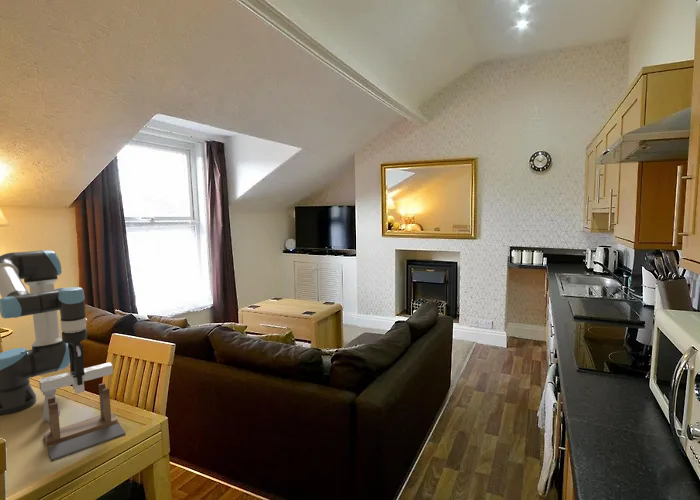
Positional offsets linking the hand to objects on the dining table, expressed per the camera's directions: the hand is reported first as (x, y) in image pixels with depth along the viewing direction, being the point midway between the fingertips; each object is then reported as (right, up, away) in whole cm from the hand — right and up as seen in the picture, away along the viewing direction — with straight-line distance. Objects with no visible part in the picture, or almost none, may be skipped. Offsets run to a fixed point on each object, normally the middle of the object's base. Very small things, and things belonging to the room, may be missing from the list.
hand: (78, 390), depth 146 cm
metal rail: (0, +4, 0) cm, 4 cm away
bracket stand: (0, -16, +2) cm, 16 cm away
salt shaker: (-17, -15, +9) cm, 24 cm away
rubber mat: (+7, -17, -5) cm, 19 cm away
